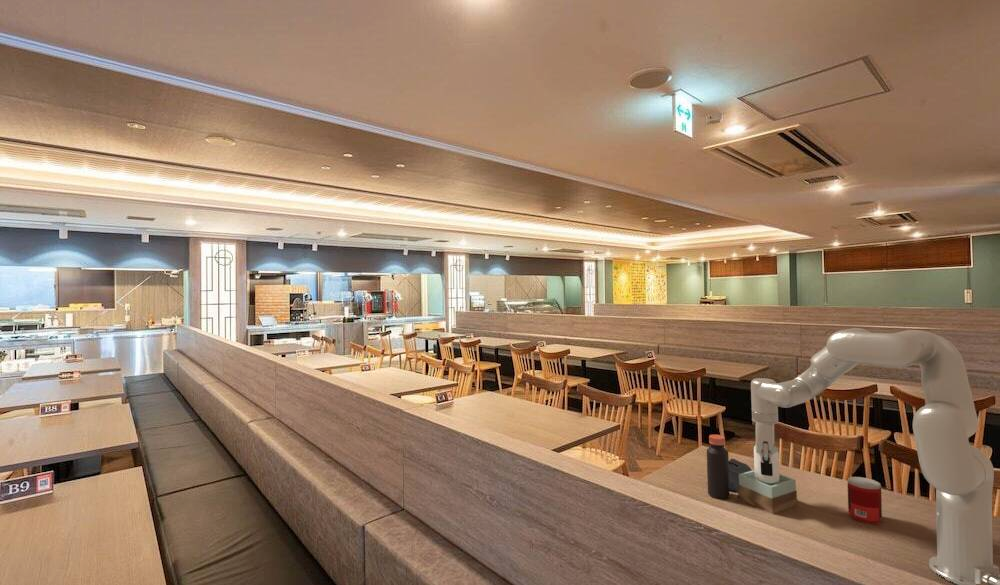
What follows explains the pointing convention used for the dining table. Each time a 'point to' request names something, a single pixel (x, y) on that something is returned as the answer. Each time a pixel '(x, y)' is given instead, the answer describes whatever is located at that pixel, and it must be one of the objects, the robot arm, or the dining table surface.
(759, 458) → the can
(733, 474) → the dark slate chunk
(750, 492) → the bottom block
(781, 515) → the dining table surface
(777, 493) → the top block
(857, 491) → the canned food
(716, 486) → the bottle
